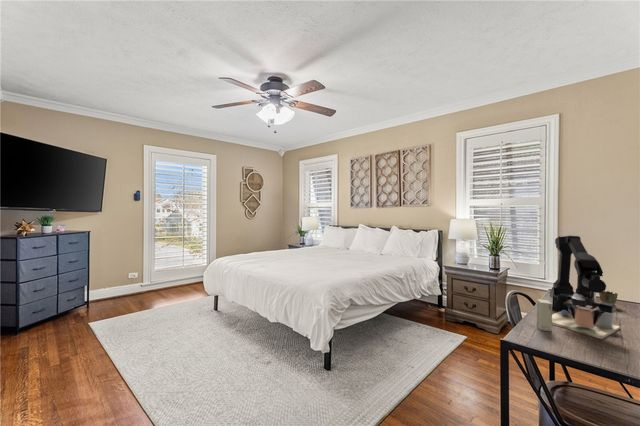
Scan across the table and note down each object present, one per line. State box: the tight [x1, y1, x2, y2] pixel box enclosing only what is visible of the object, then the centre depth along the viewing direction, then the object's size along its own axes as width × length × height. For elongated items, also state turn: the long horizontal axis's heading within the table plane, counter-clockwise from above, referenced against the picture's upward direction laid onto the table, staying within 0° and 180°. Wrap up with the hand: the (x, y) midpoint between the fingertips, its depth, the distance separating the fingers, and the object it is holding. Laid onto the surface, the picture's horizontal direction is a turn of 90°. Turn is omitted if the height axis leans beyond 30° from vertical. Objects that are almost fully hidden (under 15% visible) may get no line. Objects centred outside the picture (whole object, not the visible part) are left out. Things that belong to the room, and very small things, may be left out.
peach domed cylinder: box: [574, 306, 595, 328], centre depth 129 cm, size 6×6×7 cm
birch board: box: [552, 311, 621, 340], centre depth 136 cm, size 22×22×1 cm
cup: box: [598, 290, 618, 305], centre depth 163 cm, size 8×7×8 cm
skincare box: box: [536, 298, 553, 332], centre depth 131 cm, size 6×4×12 cm
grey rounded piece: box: [592, 307, 614, 329], centre depth 132 cm, size 6×6×7 cm
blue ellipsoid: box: [561, 310, 570, 316], centre depth 144 cm, size 3×3×3 cm
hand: (584, 321), depth 129 cm, fingers closed on peach domed cylinder, 6 cm apart
